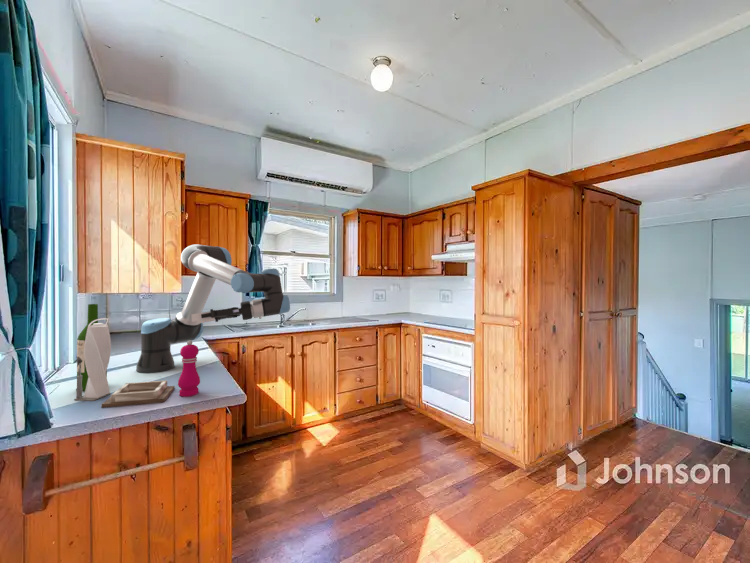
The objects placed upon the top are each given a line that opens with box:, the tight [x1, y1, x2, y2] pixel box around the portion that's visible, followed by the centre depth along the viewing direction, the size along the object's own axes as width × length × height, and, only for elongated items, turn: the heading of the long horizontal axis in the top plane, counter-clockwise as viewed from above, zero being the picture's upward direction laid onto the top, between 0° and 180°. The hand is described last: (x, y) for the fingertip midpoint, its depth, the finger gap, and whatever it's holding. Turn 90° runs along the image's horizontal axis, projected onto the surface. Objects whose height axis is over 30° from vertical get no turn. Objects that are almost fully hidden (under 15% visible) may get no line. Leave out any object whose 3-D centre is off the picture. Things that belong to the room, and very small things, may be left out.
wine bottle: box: [76, 303, 108, 392], centre depth 131 cm, size 9×9×32 cm
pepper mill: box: [177, 340, 201, 398], centre depth 125 cm, size 7×7×20 cm
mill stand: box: [101, 379, 176, 408], centre depth 121 cm, size 15×18×4 cm
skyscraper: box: [74, 317, 112, 402], centre depth 121 cm, size 8×8×28 cm
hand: (194, 319), depth 131 cm, fingers open, 13 cm apart
